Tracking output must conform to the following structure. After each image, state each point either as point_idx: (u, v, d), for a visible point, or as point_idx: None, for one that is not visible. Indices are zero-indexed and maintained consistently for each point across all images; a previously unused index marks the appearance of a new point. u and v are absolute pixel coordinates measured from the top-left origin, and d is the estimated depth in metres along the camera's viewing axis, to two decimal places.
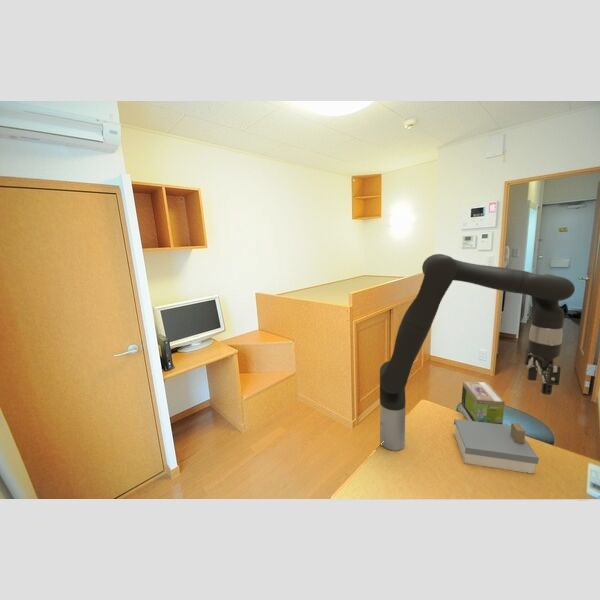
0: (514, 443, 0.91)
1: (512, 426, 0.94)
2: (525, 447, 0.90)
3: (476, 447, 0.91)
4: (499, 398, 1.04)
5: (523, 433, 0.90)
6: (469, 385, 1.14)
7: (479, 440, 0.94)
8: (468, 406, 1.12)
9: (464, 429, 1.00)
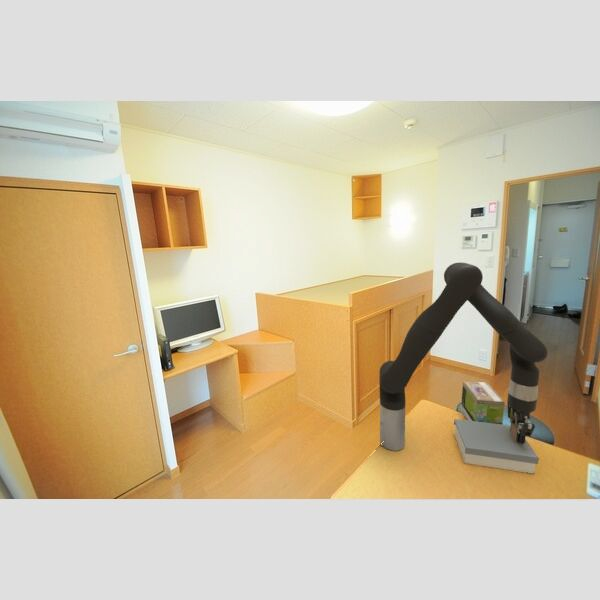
0: (514, 443, 0.91)
1: (512, 426, 0.94)
2: (525, 447, 0.90)
3: (476, 447, 0.91)
4: (499, 398, 1.04)
5: None
6: (469, 385, 1.14)
7: (479, 440, 0.94)
8: (468, 406, 1.12)
9: (464, 429, 1.00)
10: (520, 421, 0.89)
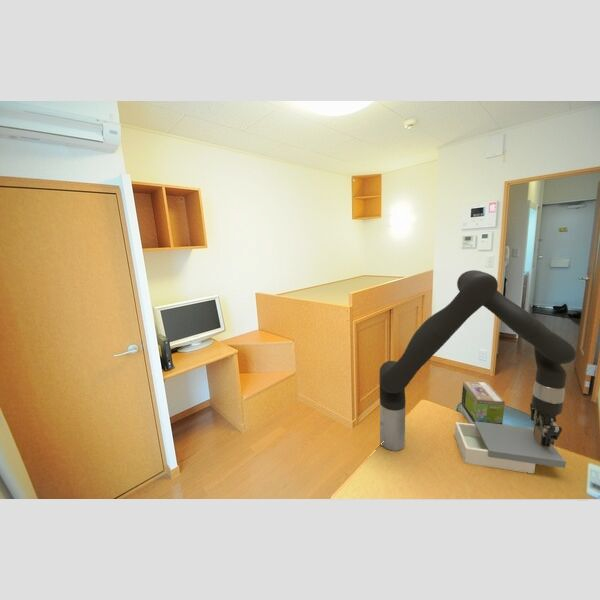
0: (539, 446, 0.89)
1: (536, 429, 0.92)
2: (550, 450, 0.88)
3: (500, 450, 0.89)
4: (499, 398, 1.04)
5: None
6: (469, 385, 1.14)
7: (502, 443, 0.92)
8: (468, 406, 1.12)
9: (485, 432, 0.98)
10: (545, 424, 0.87)
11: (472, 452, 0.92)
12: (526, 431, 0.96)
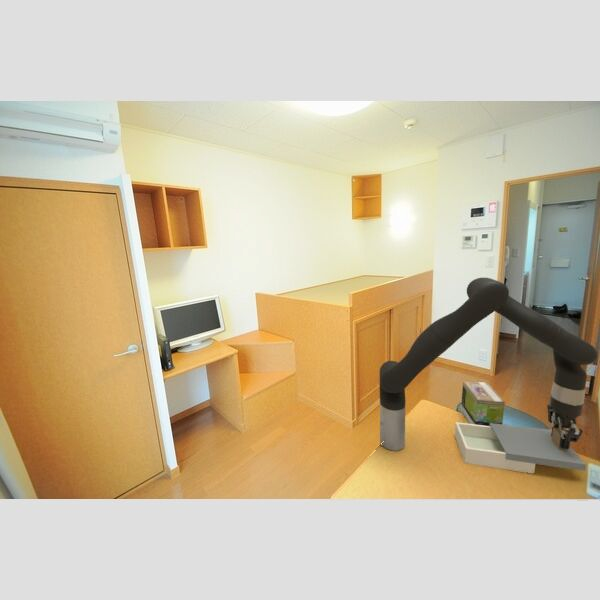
0: (557, 449, 0.88)
1: (554, 431, 0.90)
2: (569, 452, 0.86)
3: (518, 453, 0.87)
4: (499, 398, 1.04)
5: None
6: (469, 385, 1.14)
7: (520, 445, 0.90)
8: (468, 406, 1.12)
9: (502, 434, 0.96)
10: (565, 426, 0.85)
11: (472, 452, 0.92)
12: (543, 433, 0.95)
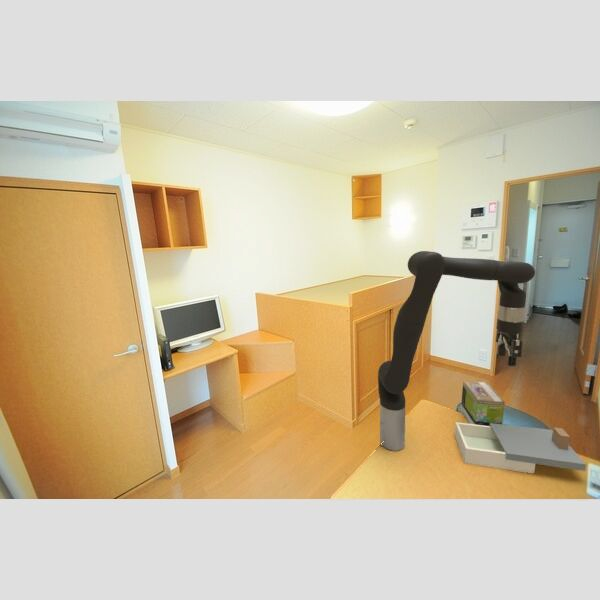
0: (557, 449, 0.88)
1: (554, 431, 0.90)
2: (569, 452, 0.86)
3: (518, 453, 0.87)
4: (499, 398, 1.04)
5: (567, 438, 0.87)
6: (469, 385, 1.14)
7: (520, 445, 0.90)
8: (468, 406, 1.12)
9: (502, 434, 0.96)
10: (509, 343, 0.93)
11: (472, 452, 0.92)
12: (543, 433, 0.95)
